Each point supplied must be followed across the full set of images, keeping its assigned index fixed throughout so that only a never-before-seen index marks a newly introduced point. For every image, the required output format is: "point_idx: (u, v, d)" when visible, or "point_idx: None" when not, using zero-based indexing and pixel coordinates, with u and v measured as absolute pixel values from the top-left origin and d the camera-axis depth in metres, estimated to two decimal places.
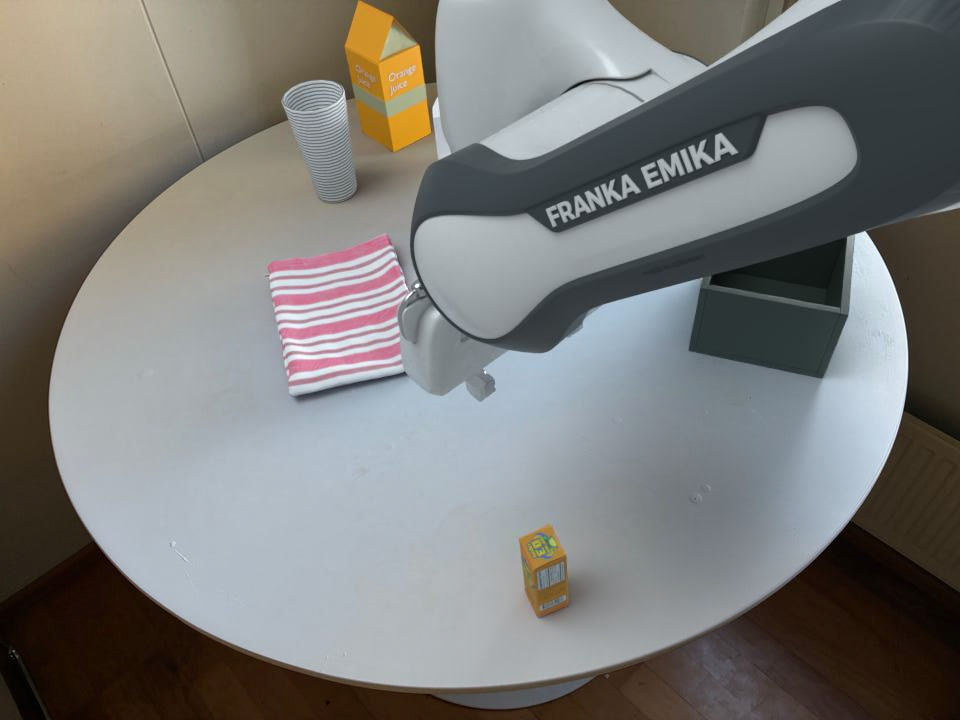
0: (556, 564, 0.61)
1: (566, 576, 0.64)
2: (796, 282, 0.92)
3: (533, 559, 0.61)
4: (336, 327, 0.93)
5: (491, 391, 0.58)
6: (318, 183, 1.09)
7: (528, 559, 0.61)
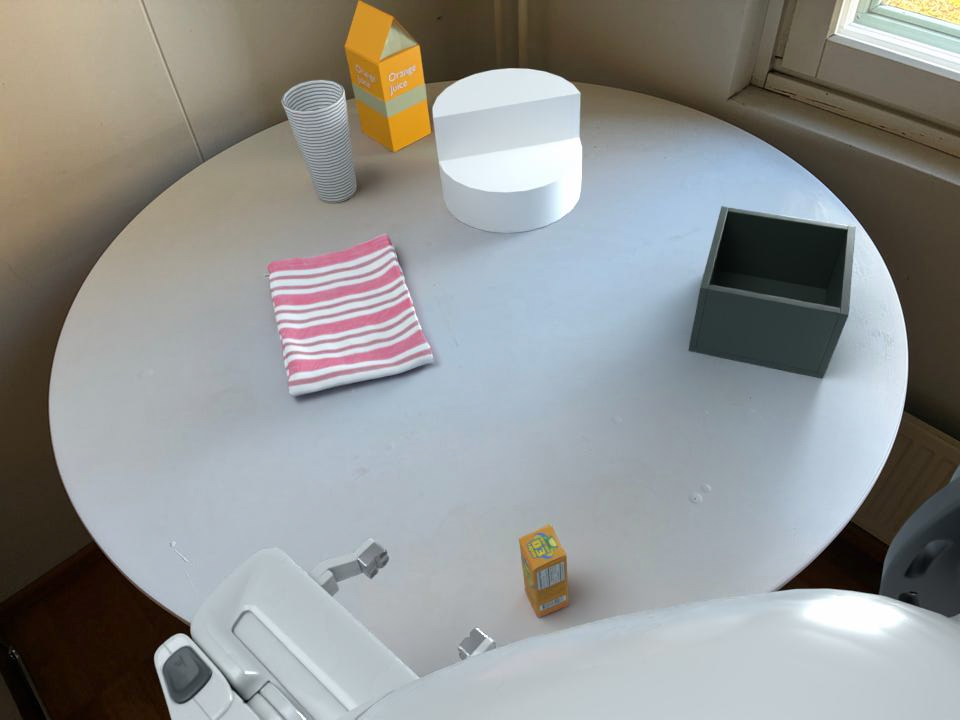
0: (556, 564, 0.61)
1: (566, 576, 0.64)
2: (796, 282, 0.92)
3: (533, 559, 0.61)
4: (336, 327, 0.93)
5: (475, 635, 0.46)
6: (318, 183, 1.09)
7: (528, 559, 0.61)
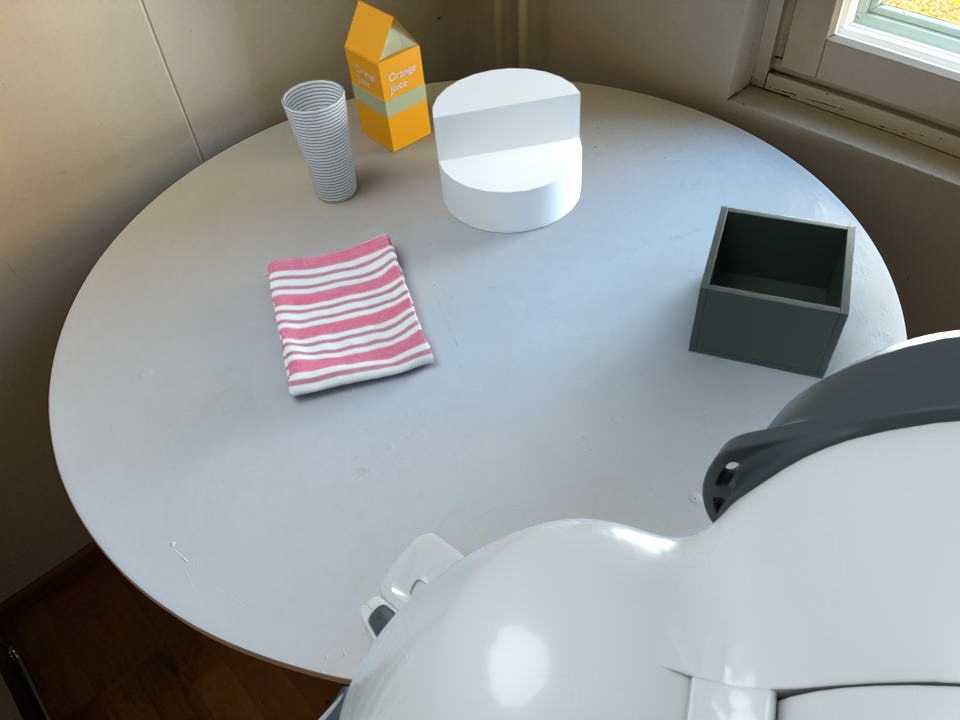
0: None
1: None
2: (796, 282, 0.92)
3: None
4: (336, 327, 0.93)
5: None
6: (318, 183, 1.09)
7: None
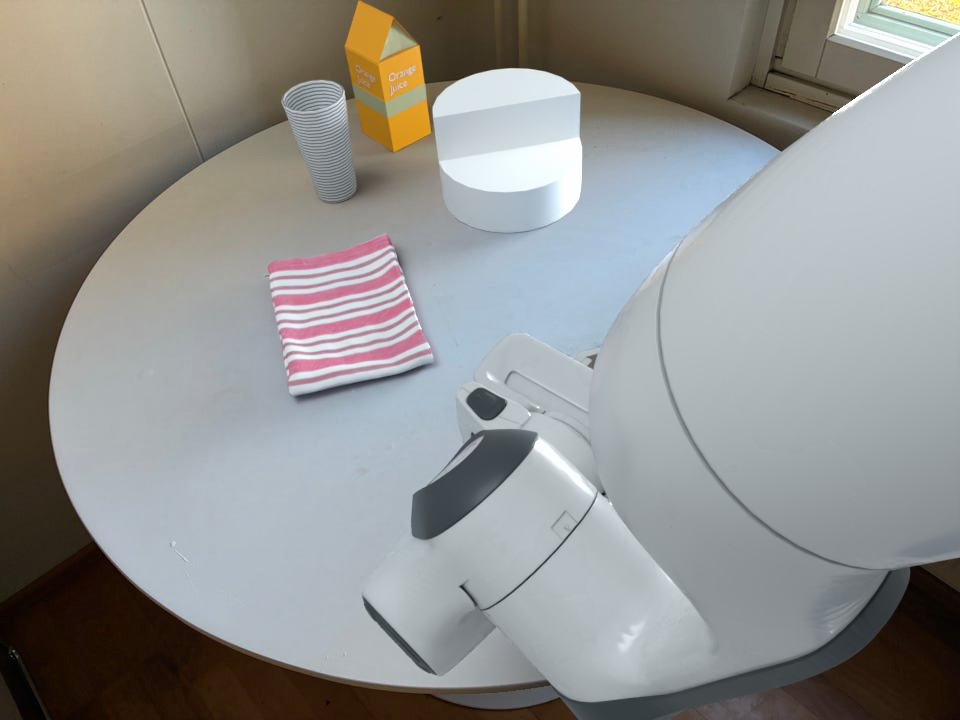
0: None
1: None
2: None
3: None
4: (336, 327, 0.93)
5: None
6: (318, 183, 1.09)
7: None
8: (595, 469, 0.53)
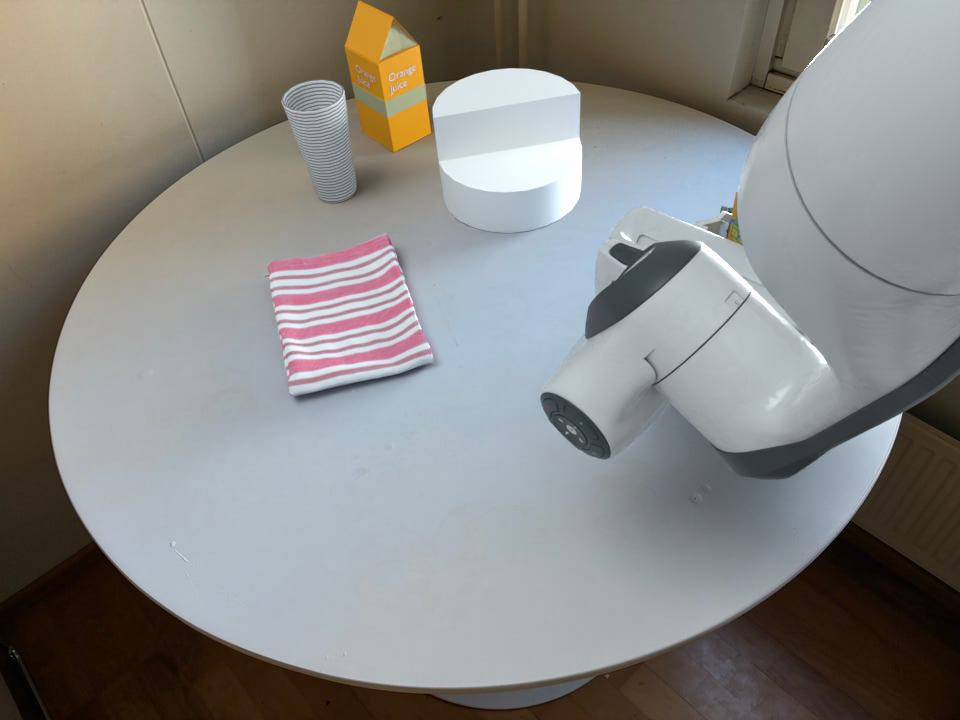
0: None
1: None
2: None
3: None
4: (336, 327, 0.93)
5: None
6: (318, 183, 1.09)
7: None
8: None
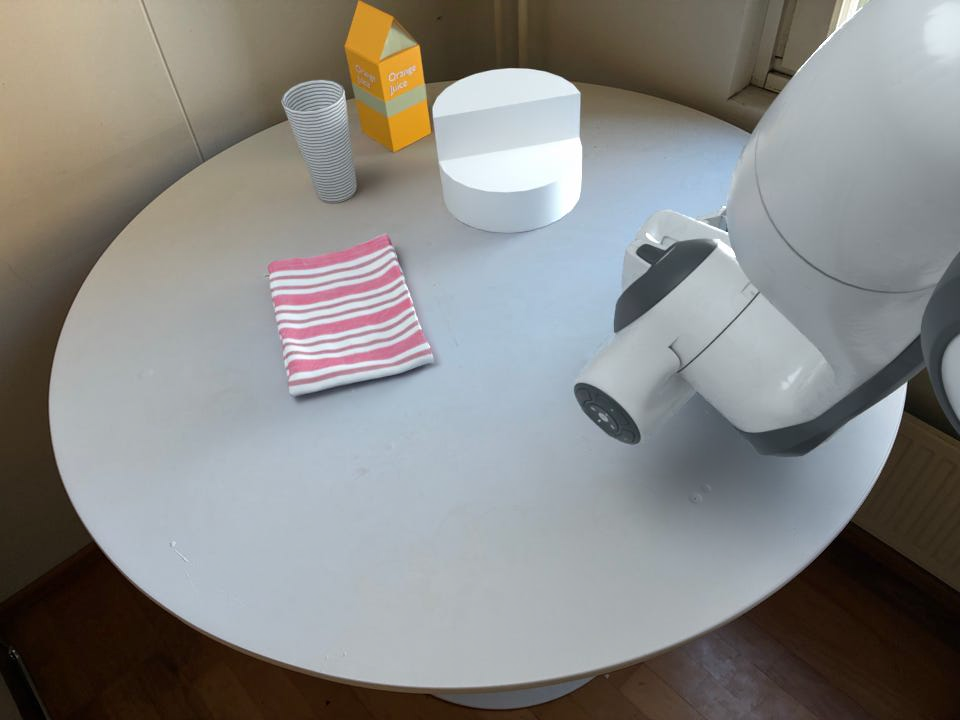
0: None
1: None
2: None
3: None
4: (336, 327, 0.93)
5: None
6: (318, 183, 1.09)
7: None
8: None
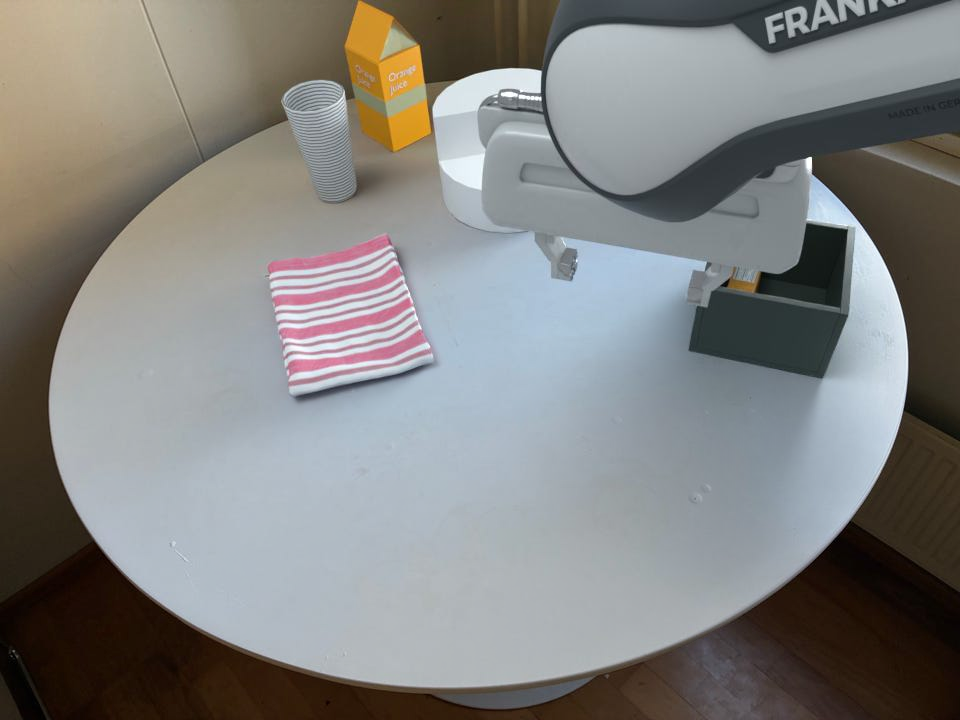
0: None
1: (756, 281, 0.89)
2: (796, 282, 0.92)
3: None
4: (336, 327, 0.93)
5: (565, 277, 0.54)
6: (318, 183, 1.09)
7: None
8: None
